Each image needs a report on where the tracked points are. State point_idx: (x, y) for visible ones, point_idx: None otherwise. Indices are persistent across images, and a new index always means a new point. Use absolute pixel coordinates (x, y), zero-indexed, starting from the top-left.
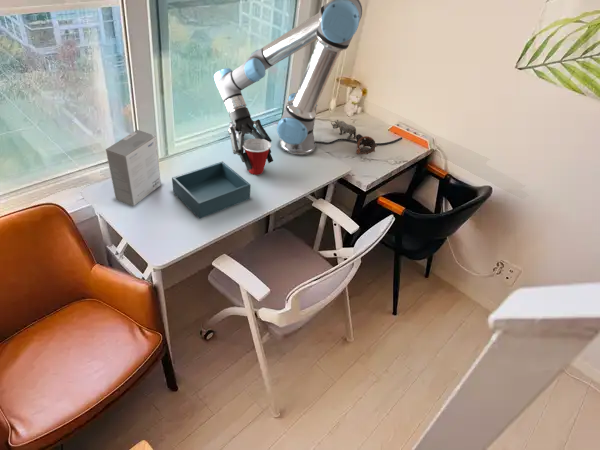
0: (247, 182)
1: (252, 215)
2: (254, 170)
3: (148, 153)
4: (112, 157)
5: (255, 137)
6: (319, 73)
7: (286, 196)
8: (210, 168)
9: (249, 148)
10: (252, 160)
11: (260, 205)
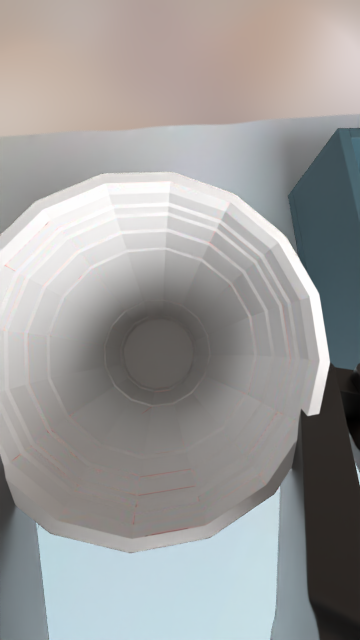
0: (345, 147)
1: (320, 123)
2: (189, 318)
3: None
4: None
5: (35, 561)
6: None
7: (151, 142)
8: None
9: (171, 445)
10: (221, 302)
11: (269, 149)
